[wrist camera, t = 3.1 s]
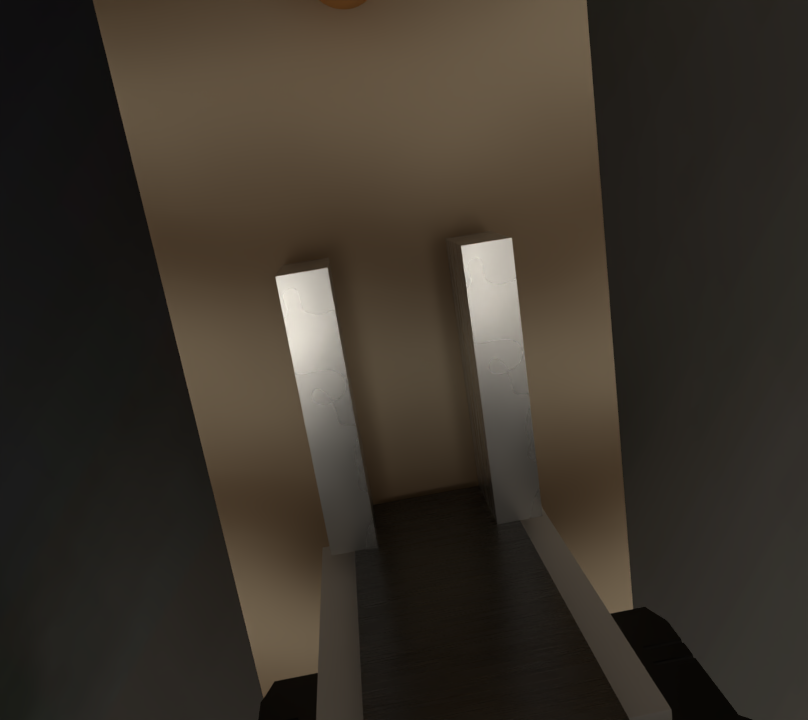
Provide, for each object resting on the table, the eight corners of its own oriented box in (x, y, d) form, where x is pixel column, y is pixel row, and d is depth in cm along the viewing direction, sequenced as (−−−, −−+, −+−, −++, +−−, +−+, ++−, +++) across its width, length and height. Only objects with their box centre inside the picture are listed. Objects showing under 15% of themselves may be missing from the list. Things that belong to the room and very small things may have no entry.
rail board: (98, -58, 15) (72, -84, 13) (552, -119, 15) (575, -151, 14) (319, 872, 21) (318, 921, 20) (630, 806, 22) (651, 850, 21)
